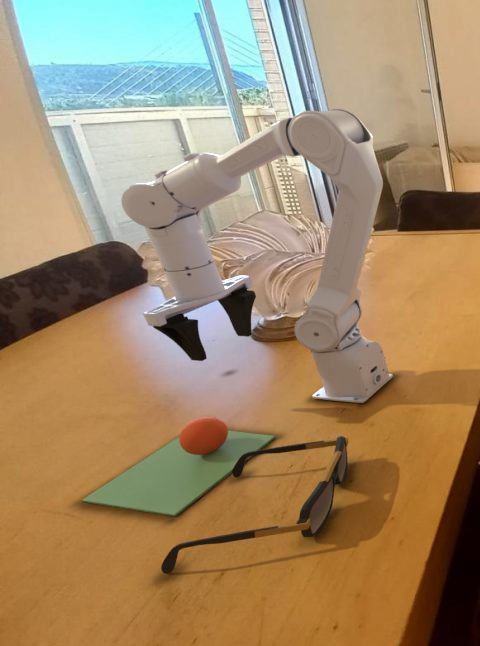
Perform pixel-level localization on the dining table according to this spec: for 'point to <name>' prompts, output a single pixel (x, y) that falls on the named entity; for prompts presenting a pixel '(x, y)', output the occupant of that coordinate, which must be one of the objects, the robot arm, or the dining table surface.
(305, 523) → the sunglasses
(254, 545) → the dining table surface
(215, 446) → the egg
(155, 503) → the cloth
